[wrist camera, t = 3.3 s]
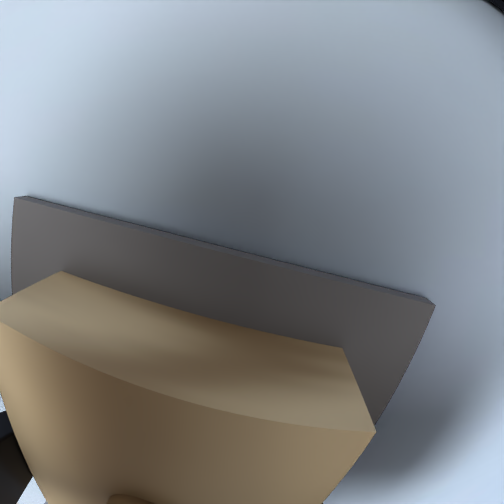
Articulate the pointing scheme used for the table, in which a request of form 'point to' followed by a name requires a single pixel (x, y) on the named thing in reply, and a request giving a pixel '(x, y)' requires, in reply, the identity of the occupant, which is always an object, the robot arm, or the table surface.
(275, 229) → the table surface
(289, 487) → the lid
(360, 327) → the mat
